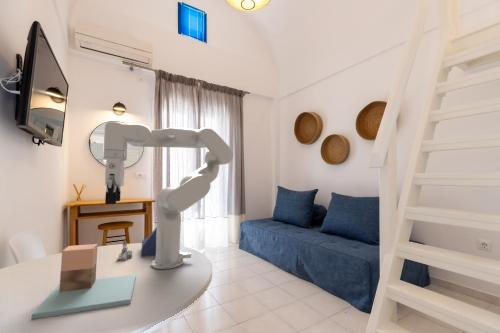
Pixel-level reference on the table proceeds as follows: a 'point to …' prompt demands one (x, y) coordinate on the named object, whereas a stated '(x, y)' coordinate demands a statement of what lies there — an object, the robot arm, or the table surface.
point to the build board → (88, 297)
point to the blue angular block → (149, 244)
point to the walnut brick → (77, 279)
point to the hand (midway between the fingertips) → (113, 202)
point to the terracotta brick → (79, 257)
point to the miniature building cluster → (124, 253)
